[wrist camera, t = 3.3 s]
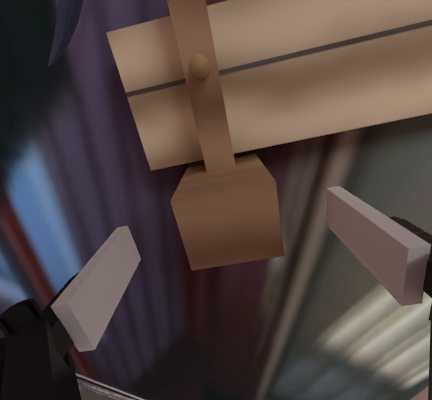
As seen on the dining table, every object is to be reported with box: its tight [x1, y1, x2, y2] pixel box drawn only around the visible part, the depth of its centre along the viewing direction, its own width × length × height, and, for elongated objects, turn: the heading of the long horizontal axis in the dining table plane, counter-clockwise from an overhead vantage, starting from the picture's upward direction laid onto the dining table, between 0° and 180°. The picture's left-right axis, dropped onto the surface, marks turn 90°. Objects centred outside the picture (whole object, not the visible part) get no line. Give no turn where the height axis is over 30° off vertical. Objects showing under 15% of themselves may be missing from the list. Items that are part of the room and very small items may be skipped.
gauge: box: [167, 0, 284, 271], centre depth 16 cm, size 18×6×10 cm, turn 12°
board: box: [106, 0, 432, 171], centre depth 18 cm, size 10×34×3 cm, turn 102°
